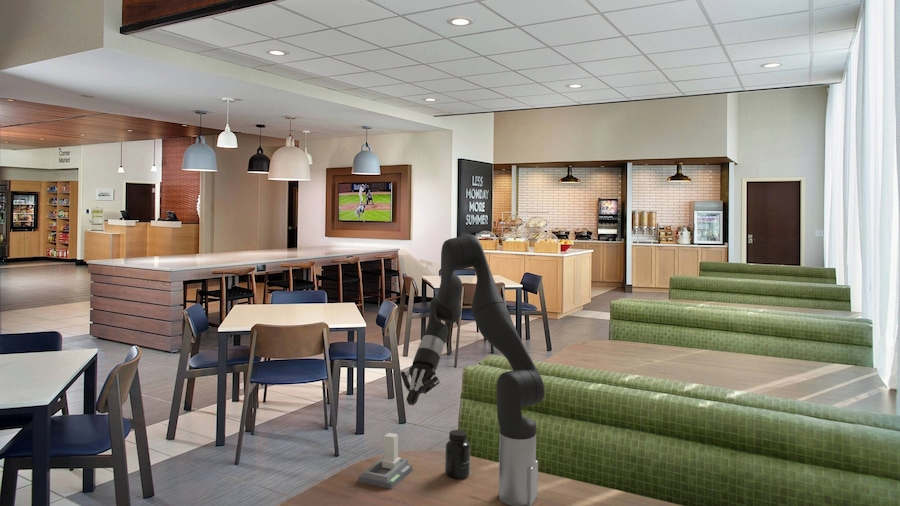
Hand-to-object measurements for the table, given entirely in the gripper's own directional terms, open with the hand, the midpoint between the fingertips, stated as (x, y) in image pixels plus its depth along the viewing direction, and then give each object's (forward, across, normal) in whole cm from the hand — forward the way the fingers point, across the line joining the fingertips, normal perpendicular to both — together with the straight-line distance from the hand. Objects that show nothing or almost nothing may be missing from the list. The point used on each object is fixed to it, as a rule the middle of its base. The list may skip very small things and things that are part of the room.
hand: (410, 403), depth 179 cm
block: (+18, 0, +2) cm, 18 cm away
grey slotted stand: (+21, 0, +1) cm, 21 cm away
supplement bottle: (+15, +18, +8) cm, 24 cm away
